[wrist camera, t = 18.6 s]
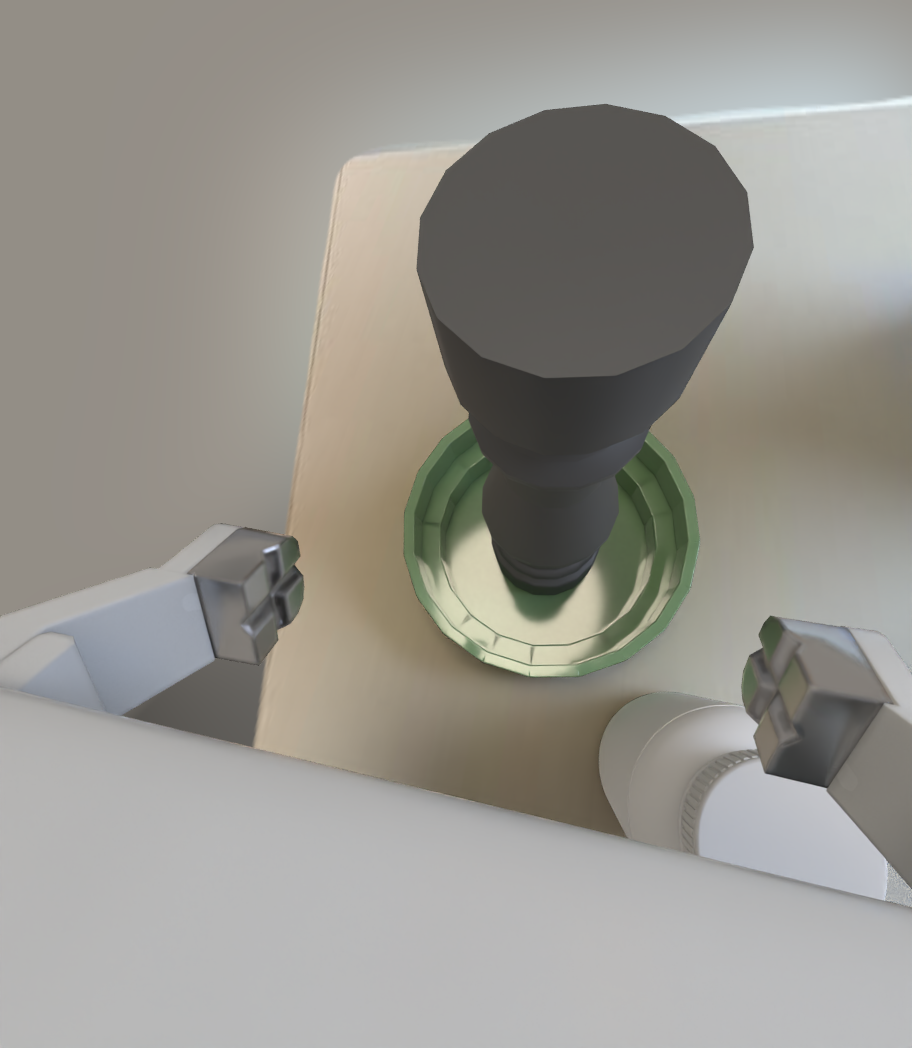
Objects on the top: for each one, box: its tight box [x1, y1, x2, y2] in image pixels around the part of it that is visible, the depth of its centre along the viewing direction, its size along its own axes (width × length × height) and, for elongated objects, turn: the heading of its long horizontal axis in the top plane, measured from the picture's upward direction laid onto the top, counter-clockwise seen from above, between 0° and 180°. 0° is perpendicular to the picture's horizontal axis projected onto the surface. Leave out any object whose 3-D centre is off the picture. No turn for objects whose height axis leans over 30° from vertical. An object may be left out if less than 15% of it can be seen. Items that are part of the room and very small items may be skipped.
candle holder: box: [417, 104, 754, 595], centre depth 21 cm, size 6×6×25 cm
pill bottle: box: [599, 692, 888, 901], centre depth 23 cm, size 8×8×15 cm
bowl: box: [404, 419, 700, 677], centre depth 31 cm, size 16×16×6 cm
